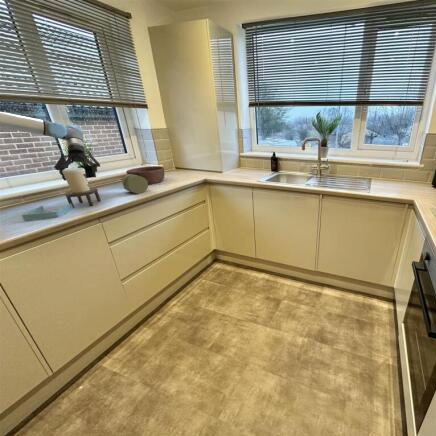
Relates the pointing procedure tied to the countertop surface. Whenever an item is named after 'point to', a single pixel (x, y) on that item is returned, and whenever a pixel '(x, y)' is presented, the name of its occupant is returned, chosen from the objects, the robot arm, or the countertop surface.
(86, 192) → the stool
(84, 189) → the coffee cup
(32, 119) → the robot arm
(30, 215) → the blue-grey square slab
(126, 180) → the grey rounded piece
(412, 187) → the countertop surface
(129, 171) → the wooden bowl
